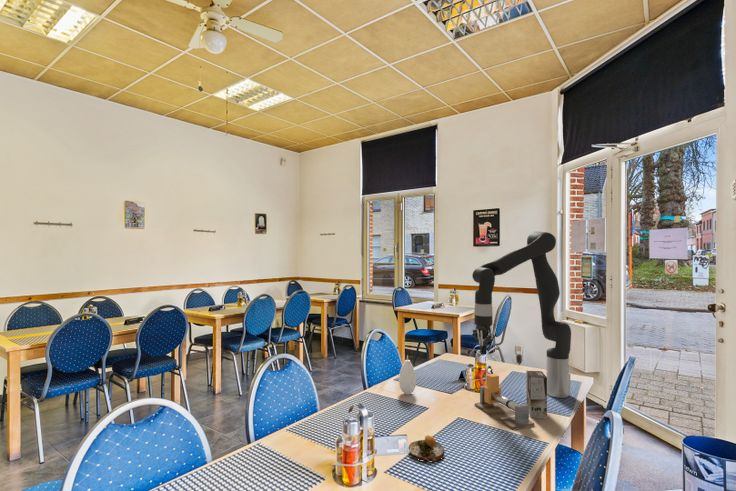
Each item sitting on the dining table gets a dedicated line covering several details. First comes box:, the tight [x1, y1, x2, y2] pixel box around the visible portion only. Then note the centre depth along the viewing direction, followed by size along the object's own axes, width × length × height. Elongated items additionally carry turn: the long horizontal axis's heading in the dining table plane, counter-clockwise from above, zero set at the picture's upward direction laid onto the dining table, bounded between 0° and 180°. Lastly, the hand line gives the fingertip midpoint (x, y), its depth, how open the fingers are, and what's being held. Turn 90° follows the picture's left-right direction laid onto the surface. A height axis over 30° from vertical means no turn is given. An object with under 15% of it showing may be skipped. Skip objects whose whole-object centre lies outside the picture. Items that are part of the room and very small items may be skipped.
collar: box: [484, 373, 502, 404], centre depth 170 cm, size 3×6×11 cm, turn 110°
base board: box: [474, 402, 535, 431], centre depth 164 cm, size 24×10×1 cm, turn 20°
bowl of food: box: [408, 434, 445, 462], centre depth 134 cm, size 12×12×8 cm
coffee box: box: [525, 370, 548, 419], centre depth 166 cm, size 9×6×16 cm
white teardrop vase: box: [398, 354, 417, 396], centre depth 187 cm, size 8×8×18 cm
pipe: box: [479, 385, 530, 426], centre depth 164 cm, size 24×5×7 cm, turn 20°
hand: (483, 354), depth 176 cm, fingers closed
